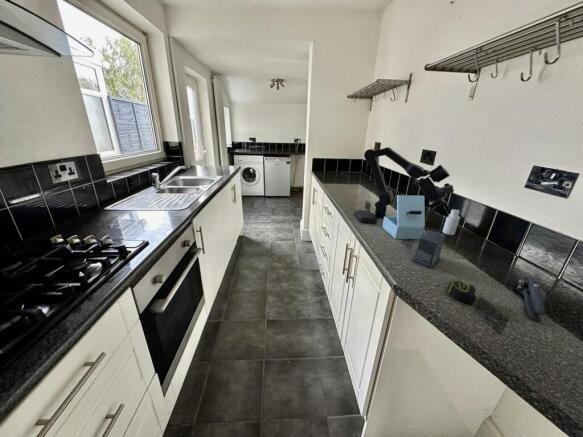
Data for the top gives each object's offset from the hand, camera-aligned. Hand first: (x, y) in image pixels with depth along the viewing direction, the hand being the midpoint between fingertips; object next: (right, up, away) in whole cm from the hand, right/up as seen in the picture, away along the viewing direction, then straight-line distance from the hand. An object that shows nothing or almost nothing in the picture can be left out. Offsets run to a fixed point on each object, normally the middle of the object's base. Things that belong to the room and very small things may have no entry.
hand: (448, 214), depth 113 cm
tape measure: (-25, -26, -43) cm, 56 cm away
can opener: (-6, -28, -45) cm, 53 cm away
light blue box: (-23, -9, 0) cm, 25 cm away
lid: (-23, +1, -8) cm, 24 cm away
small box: (-25, -19, -23) cm, 38 cm away
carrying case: (-35, -3, +16) cm, 39 cm away
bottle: (+2, -9, +2) cm, 10 cm away
